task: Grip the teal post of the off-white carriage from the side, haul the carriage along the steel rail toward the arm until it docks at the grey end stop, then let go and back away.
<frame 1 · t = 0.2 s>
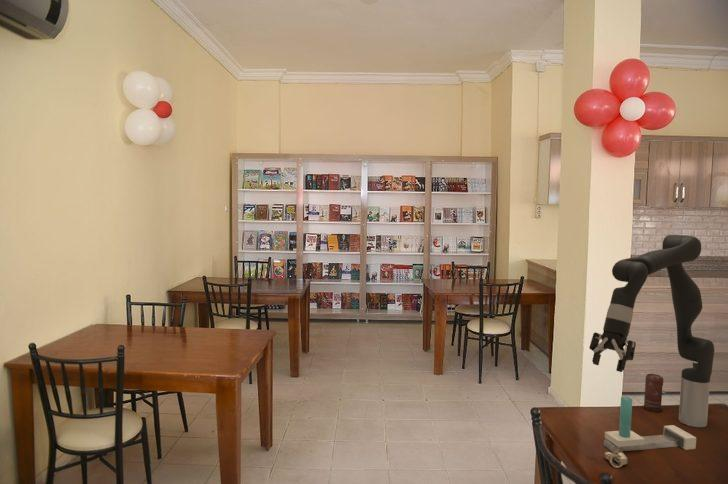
hand: (606, 368, 167), 30 cm above the table, tool tilted 20°, fingers open, 8 cm apart
end stop: (679, 442, 181), on the table
sauce bottle: (696, 410, 210), on the table
carriage: (625, 419, 176), point 10 cm above the table, slide at 14.0 cm
silver metal fitting: (615, 463, 167), on the table
can: (652, 409, 210), on the table
rail: (640, 445, 178), on the table
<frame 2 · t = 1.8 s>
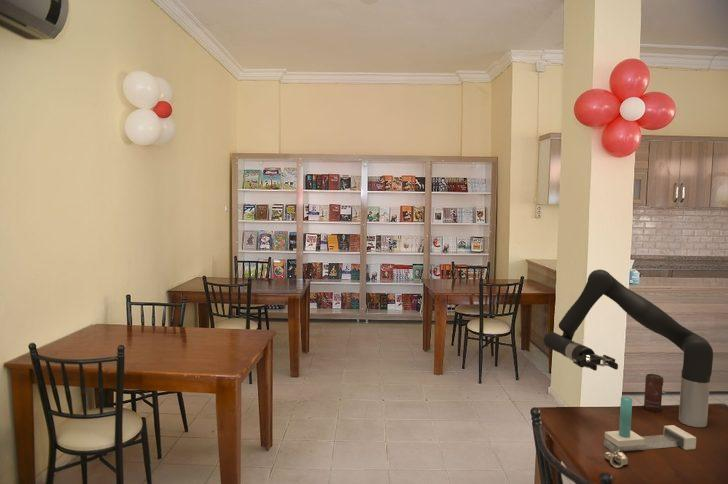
hand: (606, 367, 186), 25 cm above the table, tool horizontal, fingers open, 8 cm apart
nothing on the table moved.
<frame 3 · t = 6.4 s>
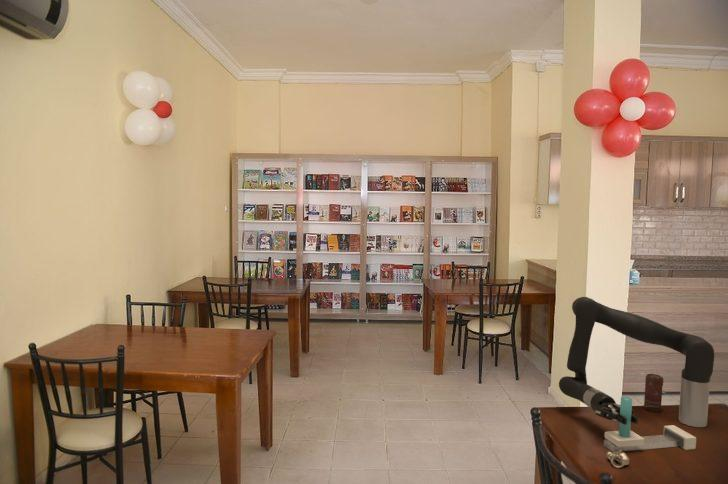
hand: (631, 421, 173), 10 cm above the table, tool horizontal, fingers closed on carriage, 3 cm apart
carriage: (625, 419, 176), point 10 cm above the table, slide at 14.0 cm, touching gripper
everything else where it was.
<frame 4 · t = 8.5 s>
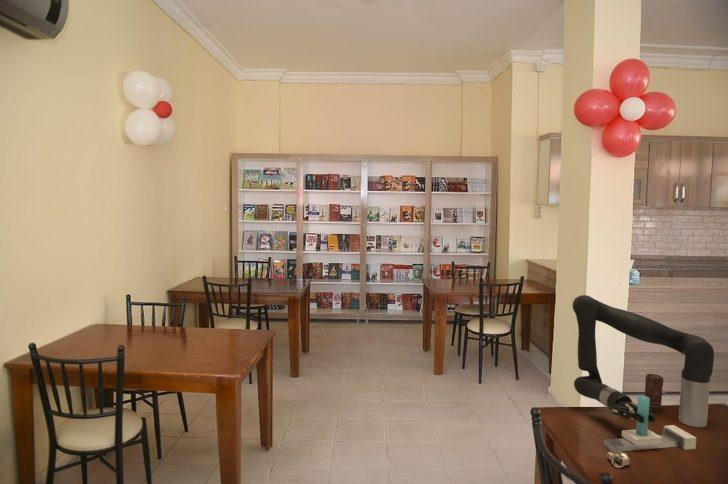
hand: (648, 419, 175), 11 cm above the table, tool horizontal, fingers closed on carriage, 3 cm apart
carriage: (642, 418, 177), point 10 cm above the table, slide at 7.3 cm, touching gripper
everything else where it was.
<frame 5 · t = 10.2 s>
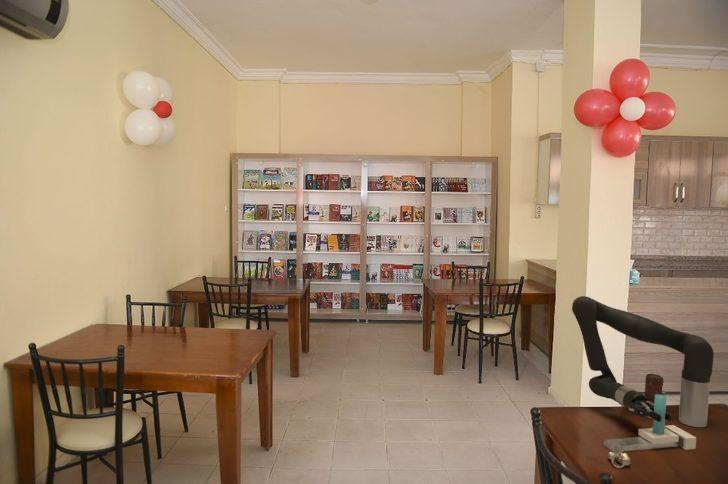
hand: (665, 418, 176), 11 cm above the table, tool horizontal, fingers closed on carriage, 3 cm apart
carriage: (659, 417, 179), point 10 cm above the table, slide at 0.6 cm, touching gripper
everything else where it was.
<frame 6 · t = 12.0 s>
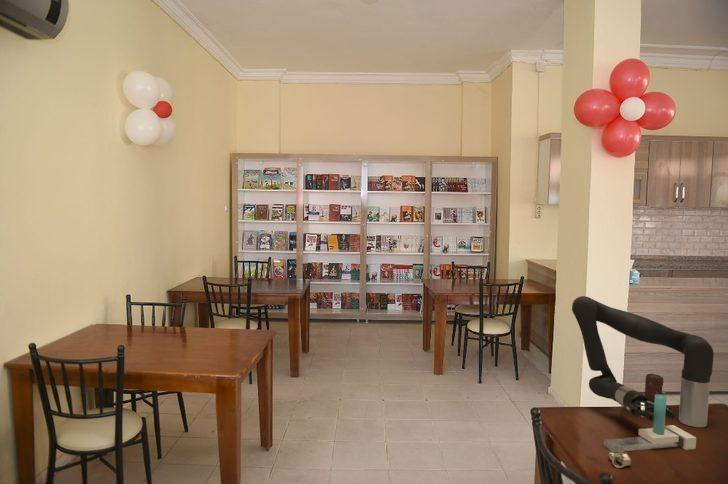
hand: (663, 417, 177), 10 cm above the table, tool horizontal, fingers open, 8 cm apart
carriage: (659, 417, 179), point 10 cm above the table, slide at 0.6 cm
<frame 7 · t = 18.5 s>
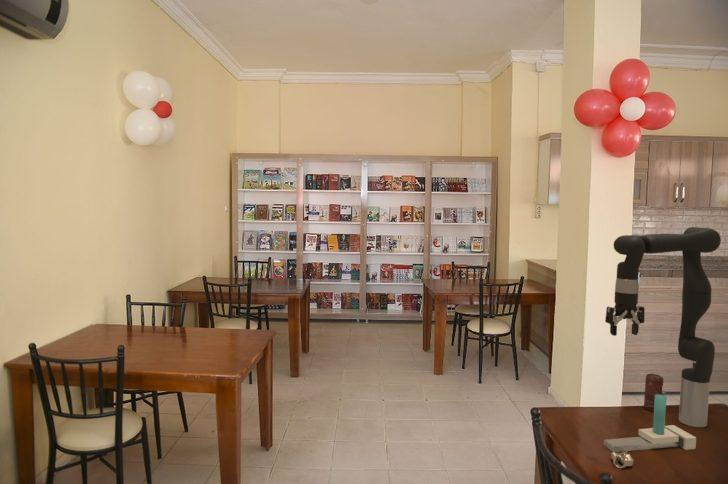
hand: (624, 334, 187), 36 cm above the table, tool pointing down, fingers open, 8 cm apart
at the end: carriage slide at 0.6 cm; the gripper is holding nothing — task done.
